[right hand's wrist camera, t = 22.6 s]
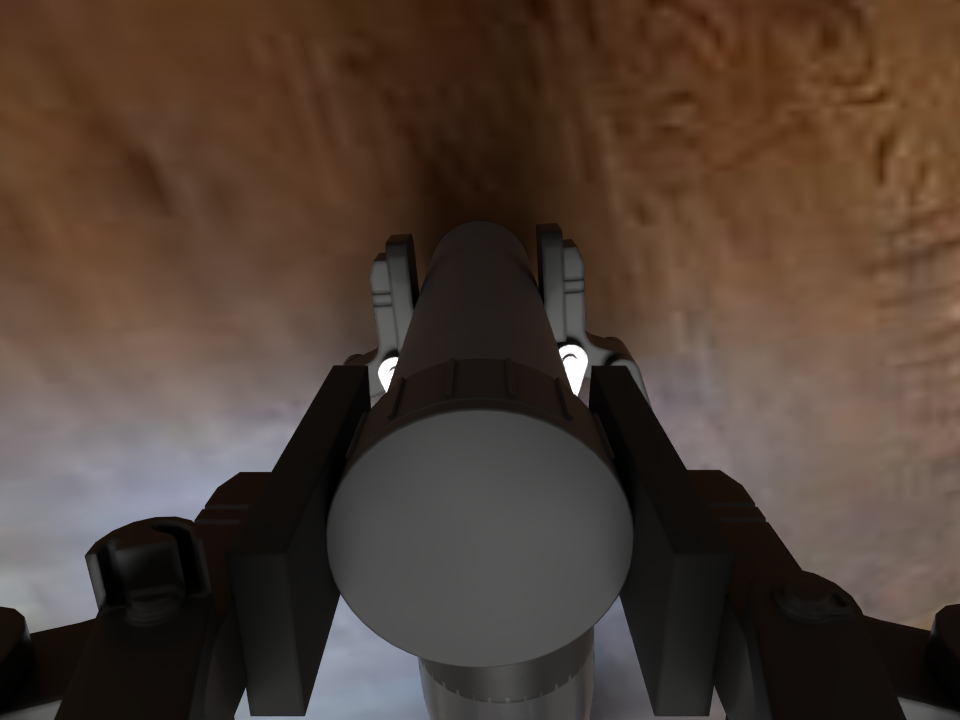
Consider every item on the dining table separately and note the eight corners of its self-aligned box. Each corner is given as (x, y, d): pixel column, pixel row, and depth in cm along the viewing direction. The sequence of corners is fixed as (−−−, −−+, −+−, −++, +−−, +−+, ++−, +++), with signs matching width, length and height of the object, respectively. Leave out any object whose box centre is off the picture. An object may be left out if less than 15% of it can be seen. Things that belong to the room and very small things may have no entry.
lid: (338, 353, 12) (308, 404, 9) (622, 354, 12) (652, 406, 9) (356, 585, 13) (334, 670, 11) (602, 585, 13) (624, 670, 11)
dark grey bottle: (411, 279, 29) (304, 536, 11) (469, 199, 28) (452, 348, 10) (489, 335, 30) (502, 654, 12) (549, 260, 29) (660, 494, 11)
